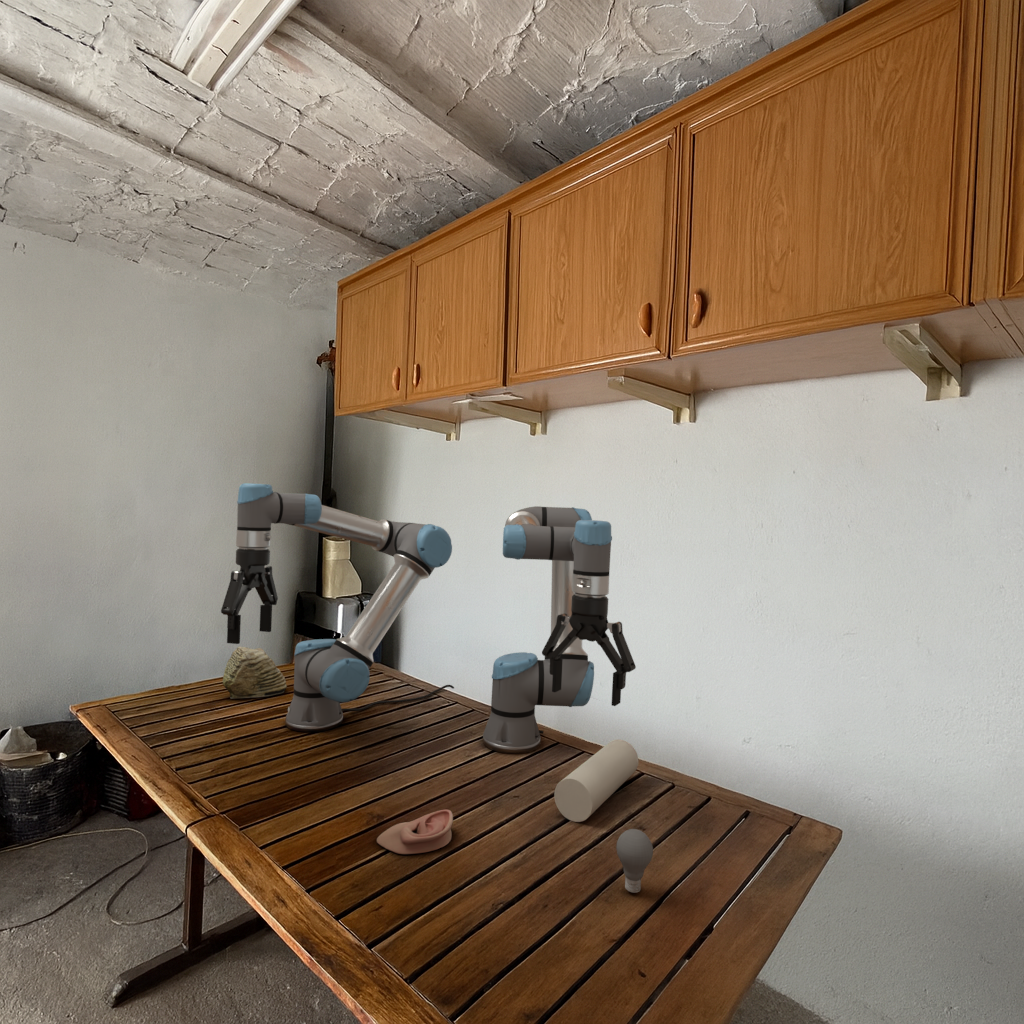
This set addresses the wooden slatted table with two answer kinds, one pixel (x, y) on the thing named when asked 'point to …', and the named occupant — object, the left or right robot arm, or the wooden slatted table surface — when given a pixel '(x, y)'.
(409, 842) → the anatomical model
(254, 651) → the fossil
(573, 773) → the rod
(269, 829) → the wooden slatted table surface
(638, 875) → the light bulb
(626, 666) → the right robot arm
